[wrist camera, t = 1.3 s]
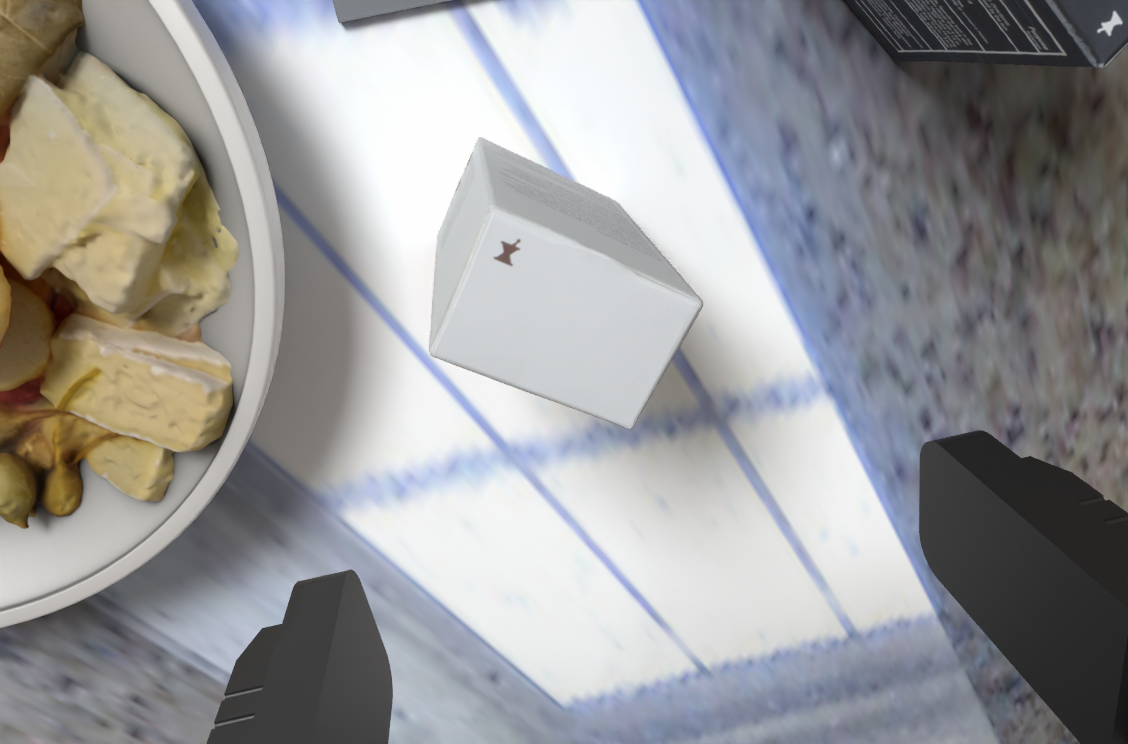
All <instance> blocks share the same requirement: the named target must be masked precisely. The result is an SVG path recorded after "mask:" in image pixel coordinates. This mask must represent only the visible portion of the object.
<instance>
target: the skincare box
mask: <svg viewBox="0 0 1128 744" xmlns="http://www.w3.org/2000/svg"><path fill="white" fill-rule="evenodd" d="M702 307H703V301H702V300H701V298H700V297H699V296H698V295H697V294H696V293H695V292H694V291H693V290H692V288H691V287H690V286H689V285H688V284H687V283H686V282H685V280H684V279H683V278H682V276H681V275H680V274H679V273H678V272H677V271H676V270H675V268H674V267H673V266H672V265H671V264H670V263H669V261H668V260H667V259H666V258H665V257H664V256H663V255H662V254H661V252H660V251H659V250H658V249H657V248H656V247H655V245H654V244H653V243H652V242H651V241H650V240H649V239H648V237H647V236H646V235H645V234H644V233H643V232H642V231H641V229H640V228H639V227H638V226H637V225H636V224H635V223H634V221H633V220H632V219H631V218H630V217H629V216H628V214H627V213H626V212H625V211H624V210H623V208H622V207H621V206H620V205H619V204H618V203H617V202H616V201H615V200H613V199H611V198H609V197H607V196H605V195H602V194H600V193H598V192H596V191H594V190H592V189H590V188H588V187H586V186H584V185H581V184H579V183H577V182H575V181H573V180H571V179H569V178H567V177H564V176H562V175H560V174H558V173H556V172H554V171H552V170H550V169H548V168H545V167H543V166H541V165H539V164H537V163H535V162H533V161H531V160H528V159H526V158H524V157H522V156H520V155H518V154H516V153H514V152H511V151H509V150H507V149H505V148H503V147H501V146H499V145H496V144H494V143H492V142H490V141H488V140H486V139H484V138H482V137H479V138H478V140H477V142H476V144H475V147H474V149H473V152H472V154H471V156H470V158H469V161H468V163H467V165H466V168H465V170H464V172H463V174H462V177H461V179H460V181H459V184H458V186H457V189H456V191H455V193H454V196H453V198H452V201H451V203H450V206H449V208H448V211H447V213H446V216H445V218H444V221H443V223H442V225H441V228H440V230H439V232H438V236H437V247H436V260H435V274H434V289H433V301H432V315H431V331H430V341H429V351H430V354H431V355H432V356H433V357H435V358H438V359H441V360H443V361H446V362H449V363H451V364H454V365H456V366H459V367H462V368H464V369H467V370H470V371H472V372H475V373H478V374H480V375H483V376H486V377H488V378H491V379H494V380H496V381H499V382H502V383H504V384H507V385H510V386H513V387H515V388H518V389H521V390H523V391H526V392H529V393H532V394H535V395H537V396H540V397H543V398H546V399H549V400H552V401H554V402H557V403H560V404H563V405H565V406H568V407H571V408H574V409H577V410H579V411H582V412H584V413H587V414H590V415H592V416H595V417H598V418H601V419H603V420H606V421H609V422H611V423H614V424H617V425H619V426H621V427H624V428H626V429H632V428H633V426H634V424H635V422H636V420H637V419H638V417H639V415H640V413H641V412H642V410H643V408H644V407H645V405H646V403H647V402H648V400H649V398H650V396H651V395H652V393H653V391H654V390H655V388H656V386H657V384H658V383H659V381H660V379H661V378H662V376H663V374H664V372H665V371H666V369H667V367H668V366H669V364H670V362H671V360H672V359H673V357H674V355H675V354H676V352H677V350H678V348H679V347H680V345H681V343H682V342H683V340H684V338H685V336H686V335H687V333H688V331H689V329H690V328H691V326H692V324H693V322H694V321H695V319H696V317H697V316H698V314H699V312H700V310H701V309H702Z"/></svg>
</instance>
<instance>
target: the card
mask: <svg viewBox="0 0 1128 744" xmlns="http://www.w3.org/2000/svg"><path fill="white" fill-rule="evenodd" d="M446 1H451V0H333V4H334V7H335V11H336V15H337V18H338V22H339V23H341V22H346V21H351V20H356V19H361V18H366V17H371V16H376V15H381V14H386V13H391V12H396V11H401V10H406V9H411V8H416V7H421V6H426V5H431V4H436V3H441V2H446Z"/></svg>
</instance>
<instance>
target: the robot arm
mask: <svg viewBox="0 0 1128 744" xmlns="http://www.w3.org/2000/svg"><path fill="white" fill-rule="evenodd" d="M919 533H920V541H921V546H922V549H923V553H924V555H925V558H926V560H927V562H928V565H929V566H930V568H931V570H932V572H933V573H934V575H935V576H936V577H937V578H938V580H939V581H940V582H941V583H942V584H943V585H944V587H945V588H946V589H947V590H948V591H949V592H950V594H951V595H952V596H953V597H954V598H955V599H956V600H957V602H958V603H959V604H960V605H961V606H962V607H963V609H964V610H965V611H966V612H967V613H968V614H969V615H970V617H971V618H972V619H973V620H974V621H975V622H976V623H977V625H978V626H979V627H980V628H981V629H982V630H983V632H984V633H985V634H986V635H987V636H988V637H989V638H990V640H991V641H992V642H993V643H994V644H995V645H996V647H997V648H998V649H999V650H1000V651H1001V652H1002V653H1003V655H1004V656H1005V657H1006V658H1007V659H1008V660H1009V662H1010V663H1011V664H1012V665H1013V666H1014V667H1015V668H1016V670H1017V671H1018V672H1019V673H1020V674H1021V675H1022V676H1023V678H1024V679H1025V680H1026V681H1027V682H1028V683H1029V685H1030V686H1031V687H1032V688H1033V689H1034V690H1035V691H1036V693H1037V694H1038V695H1039V696H1040V697H1041V698H1042V700H1043V701H1044V702H1045V703H1046V704H1047V705H1048V706H1049V708H1050V709H1051V710H1052V711H1053V712H1054V713H1055V715H1056V716H1057V717H1058V718H1059V719H1060V720H1061V721H1062V723H1063V724H1064V725H1065V726H1066V727H1067V728H1068V729H1069V731H1070V732H1071V733H1072V734H1073V735H1074V736H1075V738H1076V739H1077V740H1078V741H1079V742H1080V743H1081V744H1128V513H1127V512H1126V511H1124V510H1123V509H1121V508H1120V507H1119V506H1117V505H1116V504H1115V503H1113V502H1112V501H1110V500H1106V501H1105V500H1104V498H1103V495H1102V494H1101V493H1099V492H1098V491H1097V490H1095V489H1094V488H1093V487H1091V486H1090V485H1088V484H1087V483H1086V482H1084V481H1083V480H1081V479H1080V478H1079V477H1077V476H1076V475H1075V474H1073V473H1072V472H1069V471H1067V470H1064V469H1062V468H1059V467H1056V466H1054V465H1051V464H1049V463H1046V462H1044V461H1041V460H1039V459H1036V458H1033V457H1031V456H1029V457H1025V458H1020V457H1019V456H1018V455H1016V454H1015V453H1014V452H1012V451H1011V450H1010V449H1009V448H1007V447H1006V446H1005V445H1003V444H1002V443H1001V442H999V441H998V440H997V439H995V438H994V437H993V436H992V435H990V434H989V433H987V432H985V431H981V430H978V431H974V432H969V433H965V434H960V435H956V436H951V437H947V438H942V439H938V440H933V441H929V442H926V443H925V444H924V445H923V446H922V449H921V453H920V504H919ZM392 699H393V688H392V677H391V670H390V664H389V660H388V656H387V653H386V650H385V647H384V644H383V642H382V639H381V636H380V633H379V631H378V628H377V625H376V623H375V620H374V617H373V614H372V612H371V609H370V606H369V603H368V601H367V598H366V595H365V592H364V590H363V587H362V584H361V582H360V579H359V577H358V575H357V574H356V572H355V571H353V570H347V571H343V572H338V573H334V574H330V575H325V576H321V577H316V578H312V579H307V580H303V581H298V582H297V583H296V584H295V585H294V587H293V590H292V593H291V597H290V600H289V603H288V606H287V610H286V613H285V616H284V620H283V623H282V624H279V625H275V626H270V627H266V628H262V629H261V631H260V632H259V633H258V634H257V636H256V637H255V638H254V639H253V641H252V642H251V643H250V644H249V645H248V647H247V648H246V649H245V650H244V652H243V653H242V654H241V655H240V657H239V658H238V659H237V660H236V663H235V666H234V669H233V672H232V674H231V677H230V680H229V683H228V685H227V688H226V691H225V700H223V701H222V702H221V705H220V708H219V711H218V713H217V716H216V719H215V722H214V723H215V729H212V730H211V733H210V736H209V738H208V741H207V744H388V739H389V729H390V720H391V710H392Z"/></svg>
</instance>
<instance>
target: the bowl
mask: <svg viewBox="0 0 1128 744" xmlns="http://www.w3.org/2000/svg"><path fill="white" fill-rule="evenodd" d="M284 303H285V264H284V246H283V238H282V230H281V222H280V216H279V210H278V205H277V200H276V195H275V190H274V185H273V182H272V178H271V174H270V170H269V166H268V162H267V159H266V155H265V152H264V149H263V146H262V143H261V140H260V137H259V134H258V131H257V128H256V125H255V123H254V120H253V118H252V115H251V113H250V110H249V108H248V105H247V103H246V100H245V98H244V95H243V93H242V91H241V89H240V87H239V85H238V83H237V80H236V78H235V76H234V74H233V72H232V70H231V68H230V66H229V64H228V62H227V60H226V58H225V56H224V54H223V53H222V51H221V49H220V47H219V45H218V43H217V41H216V40H215V38H214V36H213V34H212V33H211V31H210V29H209V28H208V26H207V24H206V23H205V21H204V19H203V18H202V16H201V15H200V13H199V11H198V10H197V8H196V6H195V5H194V3H193V2H192V0H0V628H3V627H7V626H10V625H14V624H18V623H21V622H25V621H29V620H32V619H35V618H38V617H41V616H44V615H47V614H49V613H52V612H55V611H58V610H60V609H63V608H65V607H68V606H70V605H72V604H75V603H77V602H80V601H82V600H84V599H86V598H88V597H90V596H92V595H94V594H96V593H98V592H100V591H102V590H104V589H106V588H108V587H109V586H111V585H113V584H115V583H116V582H118V581H120V580H122V579H123V578H125V577H126V576H128V575H129V574H131V573H132V572H134V571H136V570H137V569H139V568H140V567H142V566H143V565H144V564H146V563H147V562H148V561H150V560H151V559H152V558H154V557H155V556H156V555H158V554H159V553H160V552H161V551H163V550H164V549H165V548H166V547H167V546H168V545H169V544H171V543H172V542H173V541H174V540H175V539H176V538H177V537H179V536H180V535H181V534H182V533H183V531H184V530H185V529H186V528H187V527H188V526H189V525H190V524H191V523H192V522H193V521H194V520H195V519H196V518H197V517H198V516H199V515H200V513H201V512H202V511H203V510H204V509H205V508H206V506H207V505H208V504H209V503H210V502H211V500H212V499H213V498H214V496H215V495H216V493H217V492H218V491H219V489H220V488H221V486H222V485H223V484H224V482H225V481H226V479H227V477H228V476H229V474H230V473H231V471H232V469H233V468H234V466H235V464H236V463H237V461H238V459H239V457H240V455H241V453H242V451H243V449H244V447H245V446H246V444H247V442H248V440H249V438H250V436H251V434H252V432H253V430H254V427H255V425H256V422H257V420H258V418H259V415H260V413H261V410H262V408H263V405H264V403H265V400H266V397H267V394H268V390H269V387H270V384H271V381H272V377H273V373H274V369H275V365H276V361H277V357H278V351H279V345H280V339H281V333H282V326H283V314H284Z"/></svg>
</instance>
